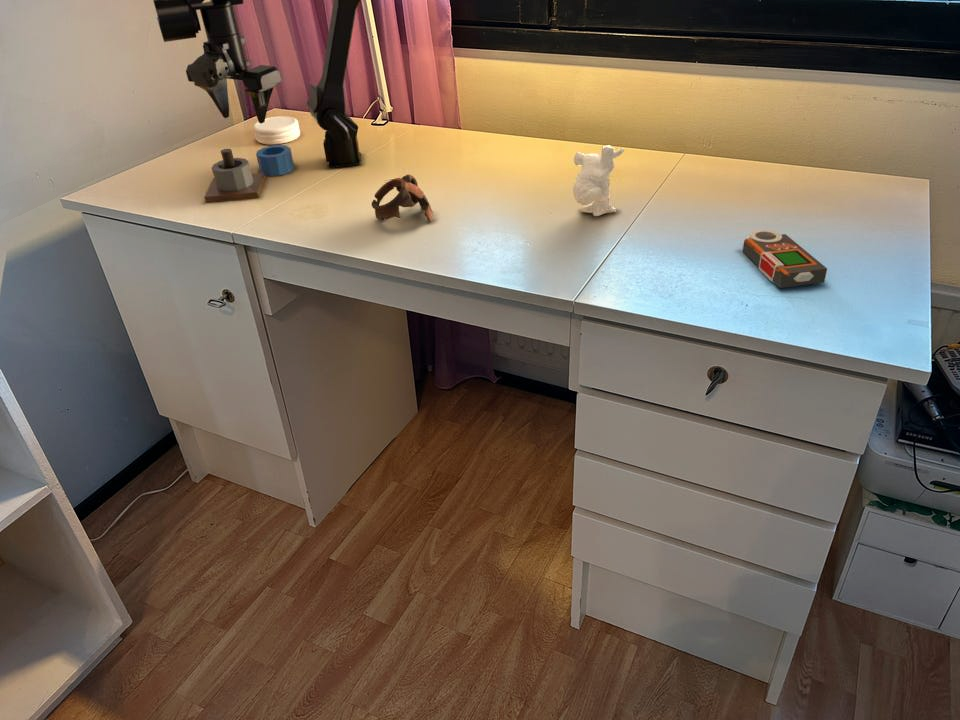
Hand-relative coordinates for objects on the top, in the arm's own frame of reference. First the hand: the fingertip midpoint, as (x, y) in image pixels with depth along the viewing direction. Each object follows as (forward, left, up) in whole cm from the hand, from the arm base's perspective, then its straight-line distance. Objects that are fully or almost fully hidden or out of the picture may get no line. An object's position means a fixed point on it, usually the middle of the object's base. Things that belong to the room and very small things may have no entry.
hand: (244, 120), depth 141 cm
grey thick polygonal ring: (+4, +5, -11) cm, 12 cm away
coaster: (-1, -24, -12) cm, 27 cm away
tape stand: (+4, +5, -12) cm, 13 cm away
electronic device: (-84, +54, -12) cm, 101 cm away
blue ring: (-3, -4, -12) cm, 13 cm away
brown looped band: (-29, +25, -12) cm, 40 cm away
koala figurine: (-62, +30, -12) cm, 70 cm away
